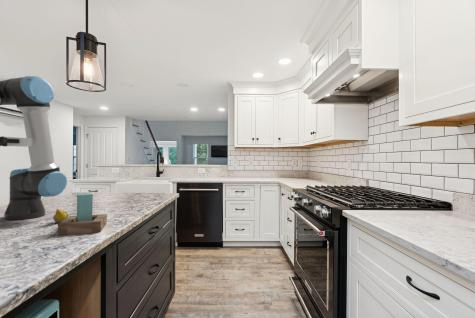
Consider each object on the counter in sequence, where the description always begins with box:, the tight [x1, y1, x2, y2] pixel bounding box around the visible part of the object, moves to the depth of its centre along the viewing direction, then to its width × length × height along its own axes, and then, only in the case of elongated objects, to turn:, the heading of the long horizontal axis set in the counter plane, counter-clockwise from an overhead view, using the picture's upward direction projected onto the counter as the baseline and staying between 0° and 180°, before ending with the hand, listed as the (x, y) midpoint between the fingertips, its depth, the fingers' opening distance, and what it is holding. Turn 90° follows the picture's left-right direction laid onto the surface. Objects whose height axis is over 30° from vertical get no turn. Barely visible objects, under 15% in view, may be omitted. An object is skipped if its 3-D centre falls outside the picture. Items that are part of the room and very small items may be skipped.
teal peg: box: [76, 192, 94, 221], centre depth 100 cm, size 4×4×14 cm
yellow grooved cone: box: [53, 208, 69, 224], centre depth 108 cm, size 5×5×10 cm
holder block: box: [57, 213, 108, 236], centre depth 100 cm, size 14×14×4 cm
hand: (29, 142), depth 96 cm, fingers open, 13 cm apart
